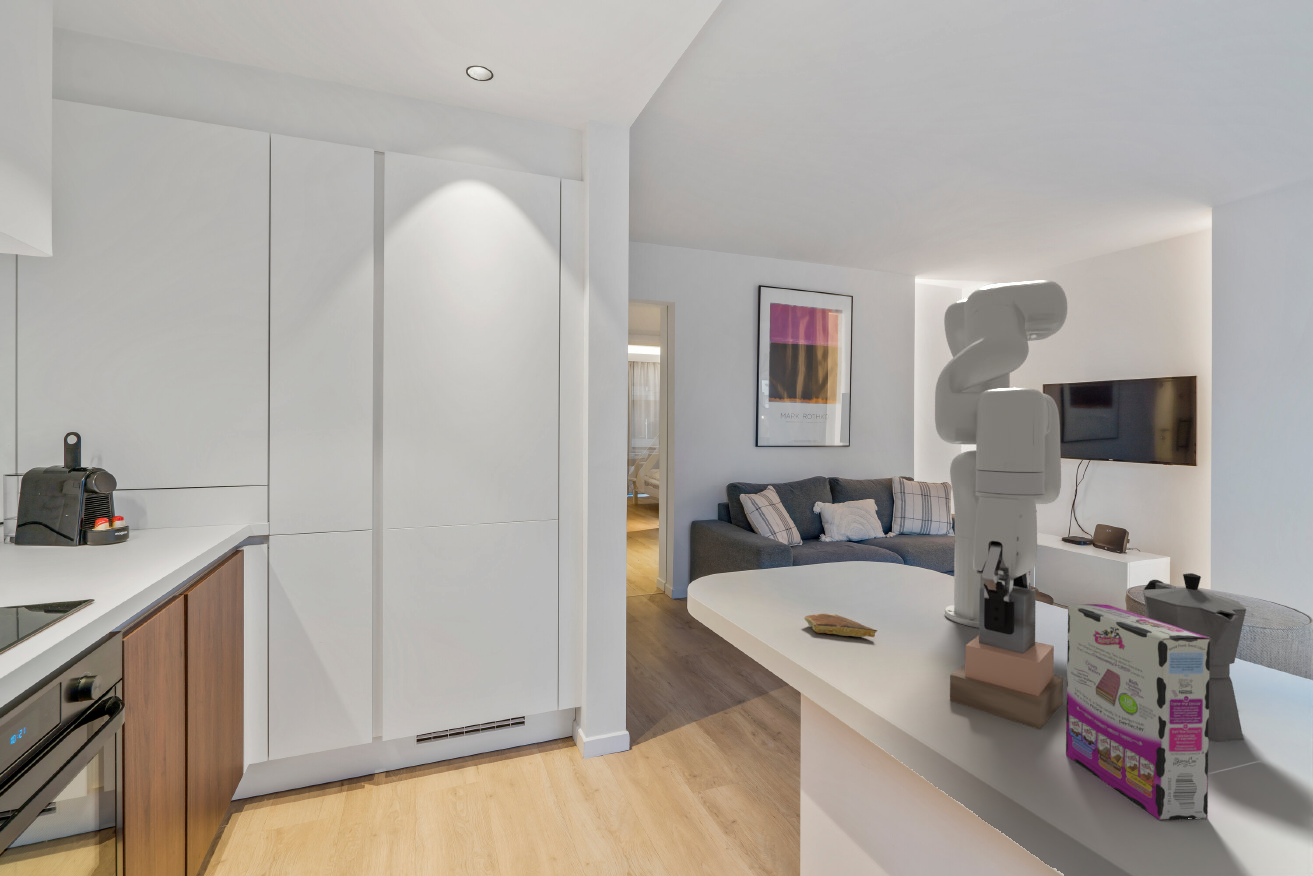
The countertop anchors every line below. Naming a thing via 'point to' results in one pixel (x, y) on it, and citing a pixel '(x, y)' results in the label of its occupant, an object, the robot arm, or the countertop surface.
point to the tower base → (1007, 699)
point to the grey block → (1022, 622)
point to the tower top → (1011, 666)
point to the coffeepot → (1223, 629)
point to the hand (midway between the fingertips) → (1007, 624)
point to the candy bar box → (1139, 708)
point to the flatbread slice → (838, 625)
